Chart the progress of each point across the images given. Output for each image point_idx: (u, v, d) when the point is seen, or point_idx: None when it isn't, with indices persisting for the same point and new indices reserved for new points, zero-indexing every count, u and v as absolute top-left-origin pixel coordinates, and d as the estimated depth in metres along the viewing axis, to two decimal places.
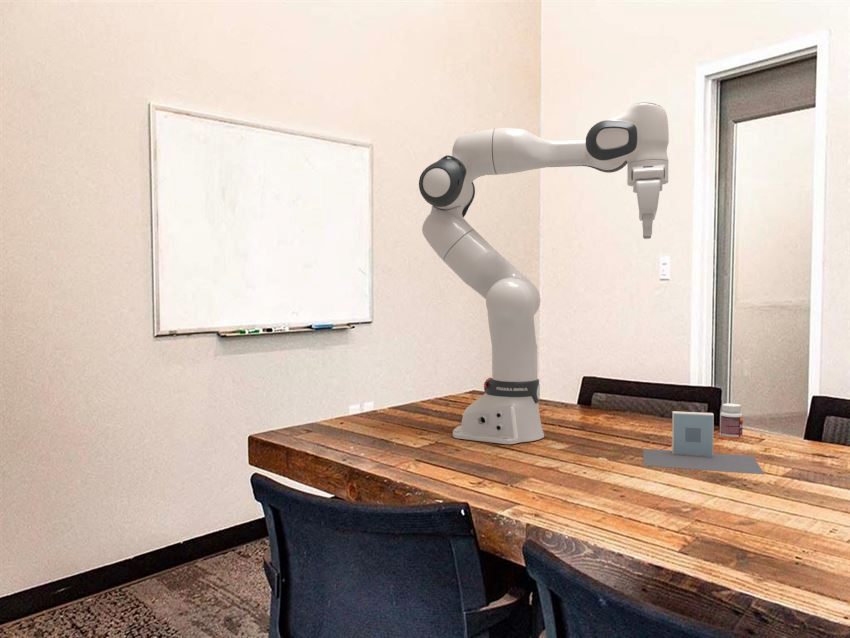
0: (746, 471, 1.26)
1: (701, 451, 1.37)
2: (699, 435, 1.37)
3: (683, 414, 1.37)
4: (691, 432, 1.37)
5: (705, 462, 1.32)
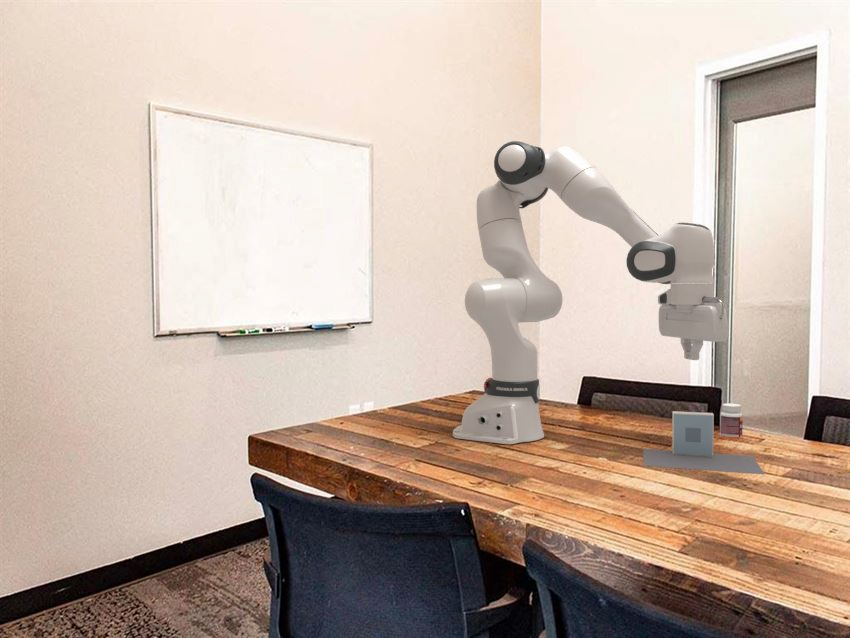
0: (746, 471, 1.26)
1: (701, 451, 1.37)
2: (699, 435, 1.37)
3: (683, 414, 1.37)
4: (691, 432, 1.37)
5: (705, 462, 1.32)
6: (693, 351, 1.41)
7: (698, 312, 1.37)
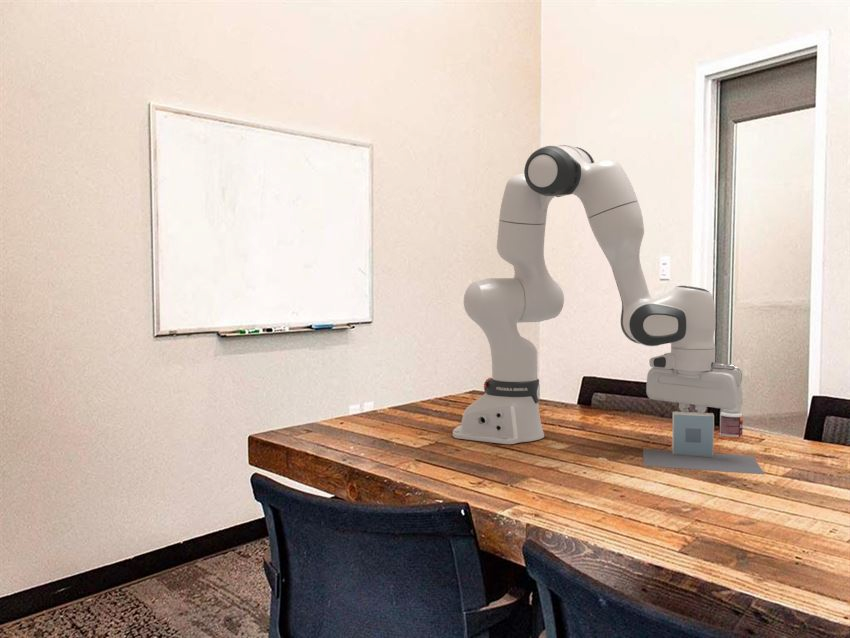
0: (746, 471, 1.26)
1: (701, 451, 1.37)
2: (699, 436, 1.36)
3: (683, 415, 1.37)
4: (691, 432, 1.37)
5: (705, 462, 1.32)
6: None
7: (711, 379, 1.35)
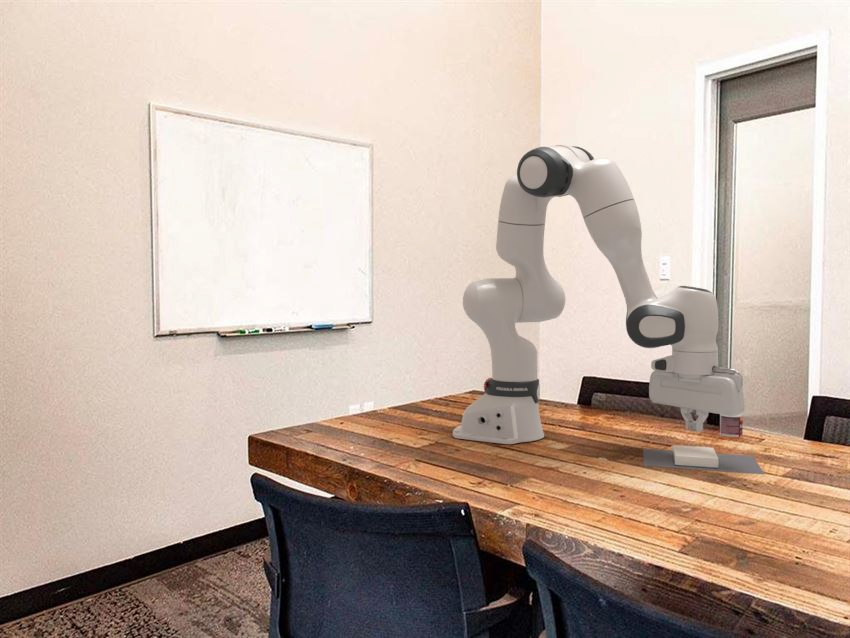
0: (746, 471, 1.26)
1: None
2: None
3: (686, 465, 1.30)
4: None
5: None
6: (699, 422, 1.33)
7: (710, 383, 1.29)
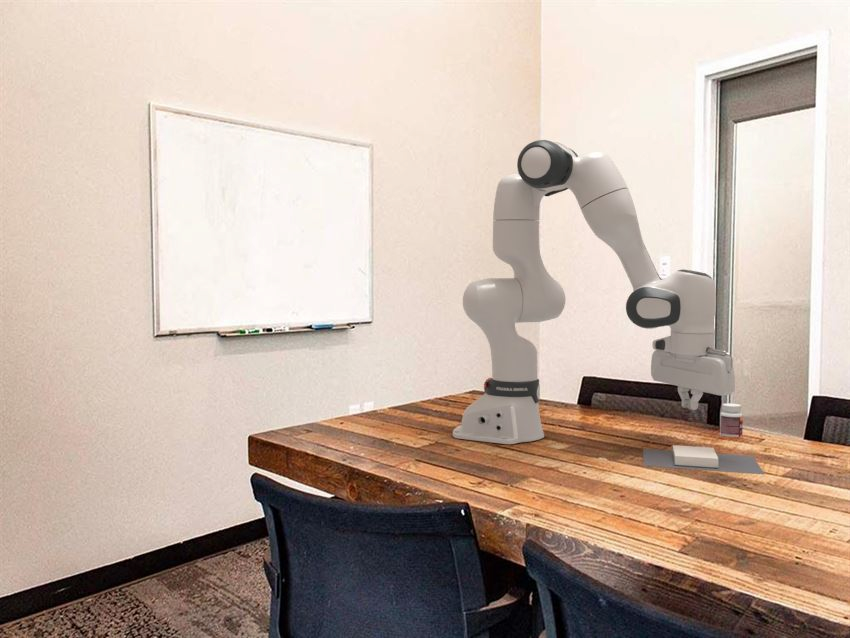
0: (746, 471, 1.26)
1: None
2: None
3: (686, 465, 1.30)
4: None
5: None
6: (693, 401, 1.39)
7: (703, 364, 1.34)
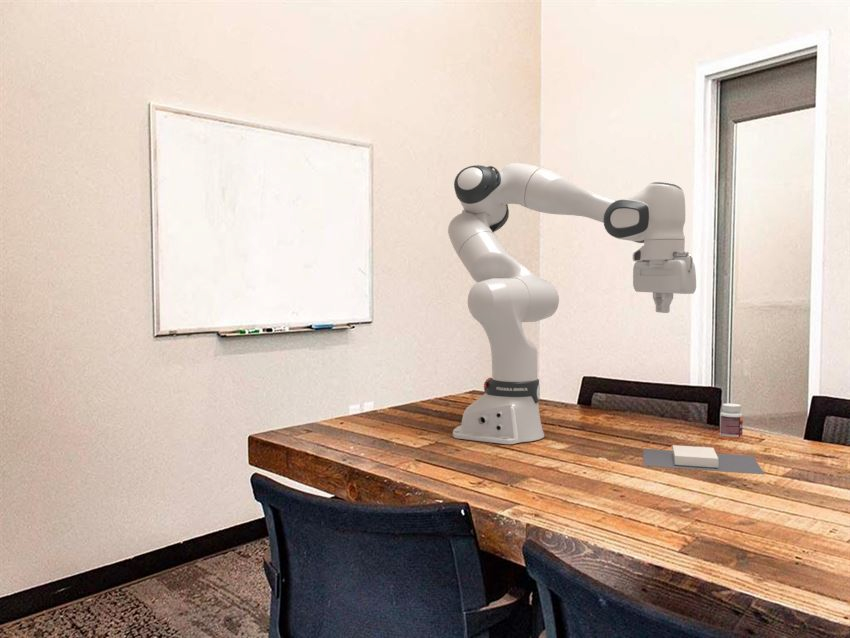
0: (746, 471, 1.26)
1: None
2: None
3: (686, 465, 1.30)
4: None
5: None
6: (664, 304, 1.49)
7: (669, 266, 1.45)
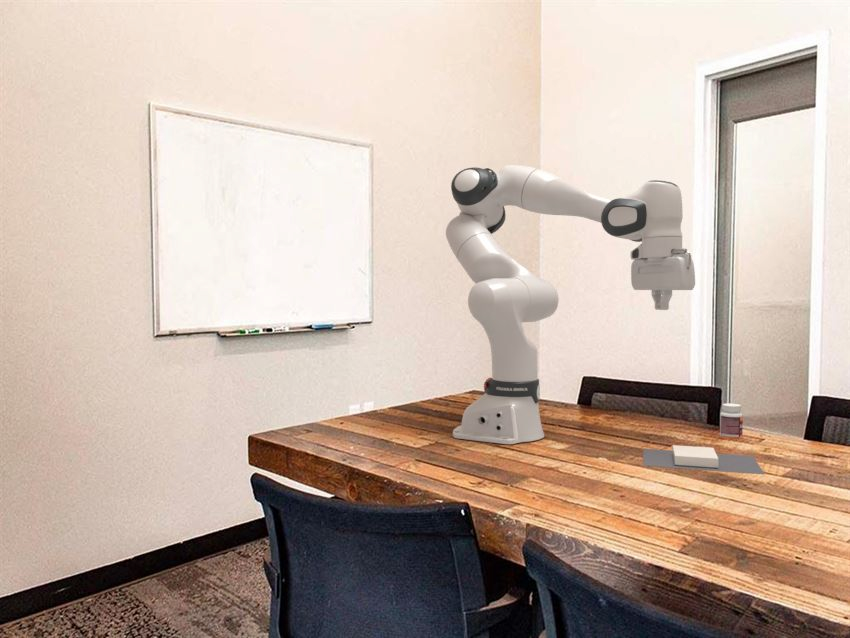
0: (746, 471, 1.26)
1: None
2: None
3: (686, 465, 1.30)
4: None
5: None
6: (663, 301, 1.49)
7: (667, 263, 1.46)
